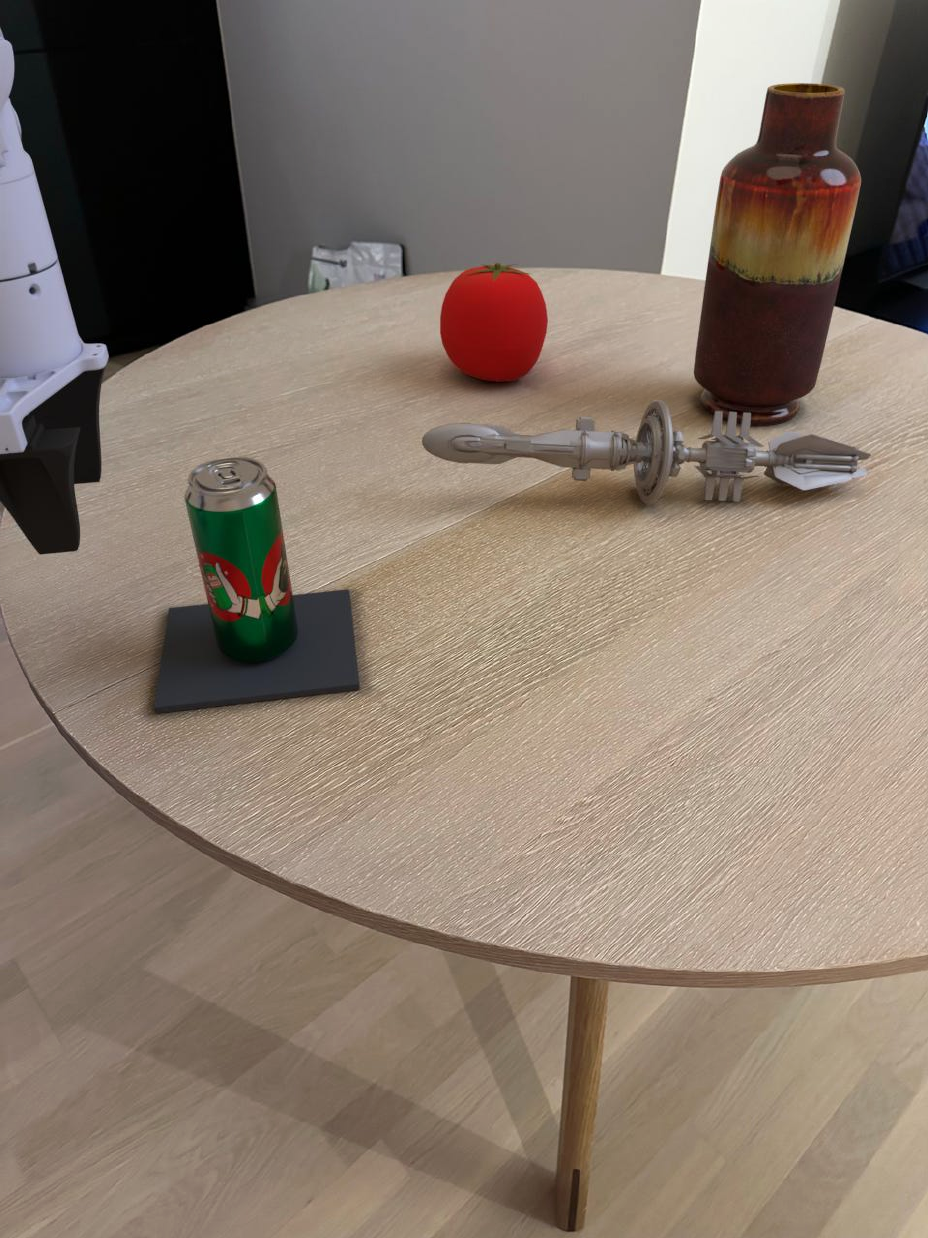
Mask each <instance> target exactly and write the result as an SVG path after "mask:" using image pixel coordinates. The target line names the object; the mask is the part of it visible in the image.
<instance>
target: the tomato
mask: <svg viewBox="0 0 928 1238" xmlns="http://www.w3.org/2000/svg"><path fill="white" fill-rule="evenodd" d="M520 264H521V262H520V263H519V265H520ZM516 265H518V263H514V264H513V263H512V264H506V265H501V263H500V262H496V263H494V264H483V265H480V266H475V267H471V268H468V269H465V270H464V271H462V272H461V273H460V274H458V275H457V276H456V277H455V278H454V279H453V281H452V282H451V284H450V285H449V287H448V288H447V290H446V291H445V294H444V297H443V300H442V304H441V308H440V314H439V315H440V316H439V334H440V339H441V344H442V346H443V349H444V351H445V354H446V355H447V357H448V359H449V360H450V362H451V363H452V364H453V366H454V367H455V368H457V369H458V370H459V371H461V372H462V373H464V374H465V375H468V376H470V377H473V378H476V379H479V380H483V381H487V382H494V383H495V382H496V383H497V382H498V383H499V382H500V383H501V382H502V383H503V382H512V381H516V380H519V379H522V378H523V377H525V376H526V375H527V374H528V373H530V372H531V370H533V368H534V366H535V365H536V363H537V362H538V360H539V358H540V356H541V353H542V350H543V347H544V344H545V341H546V337H547V333H548V324H549V323H548V322H549V318H548V309H547V303H546V300H545V297H544V295H543V291H542V289H541V287H540V286H539V284H538V281H536V280H535V279H534V278H532V276H531V275H530V273H528V272H525V271H522V270H520V269H517V268H514V267H513V266H516Z"/></svg>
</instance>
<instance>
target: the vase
mask: <svg viewBox="0 0 928 1238" xmlns="http://www.w3.org/2000/svg"><path fill="white" fill-rule="evenodd" d="M845 93H846V90H845V88H843V87H842V86H838V85H832V84H823V83H811V82H810V83H808V82H794V83H793V82H792V83H778V84H774V85H769V86H768V87H767V88H766V93H765V98H764V103H763V109H762V115H761V121H760V127H759V133H758V137H757V140H756V142H755V144H754V145H752V146H749V147H747V148H745V149H743V150H742V151H740V152H737V154H735V155H734V156H733V157H732V158H731V159H730V160H729V161H728V162H727V163H726V164H725V166H724V167H723V169H722V171H721V174H720V177H719V184H718V191H717V194H716V195H717V197H716V201H715V209H714V217H713V224H712V230H711V237H710V238H711V239H710V244H709V252H708V258H707V259H708V260H707V267H706V275H705V281H704V287H703V296H702V302H701V310H700V316H699V317H700V318H699V325H698V332H697V333H698V334H697V340H696V348H695V355H694V356H695V357H694V367H693V376H694V379H695V381H696V383H698V385H699V386H700V387H701V388H703V389H704V390H703V391H702V392H701V395H700V397H699V404H700V406H701V408H702V409H703V410H704V411H705V412H706V413H708V414H709V415H711V416H713V417H714V414H715V411H722V412H723V417H722V421H725V422H727V421H728V416H729V412H737V420H736V424H739V425H741V422H742V417H743V413H751V422H750V426H774V425H780V424H783V423H786V422H789V421H791V420H792V419H794V418H795V417H796V416H797V415H798V414H799V411H800V401H799V399H802V398H803V397H805V396H807V395H809V394H810V393H811V392H812V391H813V390H814V388H815V387H816V383H817V380H818V376H819V372H820V369H821V365H822V362H823V356H824V351H825V348H826V343H827V339H828V334H829V330H830V325H831V322H832V317H833V312H834V309H835V305H836V300H837V295H838V291H839V286H840V282H841V277H842V273H843V268H844V264H845V259H846V256H847V251H848V246H849V241H850V237H851V232H852V228H853V224H854V219H855V213H856V210H857V205H858V201H859V200H858V199H859V195H860V189H861V186H862V176H861V172H860V170H859V168H858V166H857V164H856V163H855V161H854V160H853V159H852V157H850V156H849V155H848V154H846V153H845V152H844V151H842V150H840V149H839V148H838V147H837V138H838V133H839V132H838V131H839V126H840V121H841V117H842V116H841V115H842V111H843V110H842V109H843V104H844V100H845Z"/></svg>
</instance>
